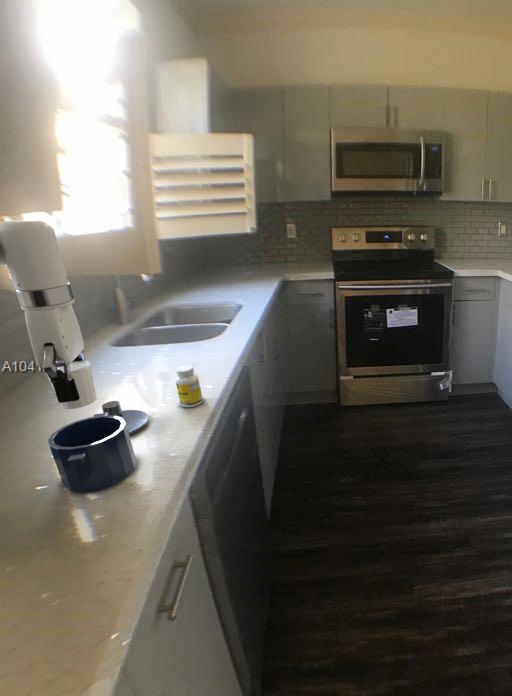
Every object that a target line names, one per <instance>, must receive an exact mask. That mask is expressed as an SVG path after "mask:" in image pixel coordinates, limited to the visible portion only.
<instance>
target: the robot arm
mask: <svg viewBox="0 0 512 696" xmlns="http://www.w3.org/2000/svg"><path fill="white" fill-rule="evenodd" d="M61 252H62V251H61V249H60V245H59V242H58V239H57V234H56V232H55V229H54V227H53V225H52V224H51V223H50V222H49V221H47V220H45V219H36V218H35V219H33V218H32V219H17V220H16V219H15V220H7V221H2V222H1V221H0V266H5V265H6V266H7V269H8V272H9V275H10V279H11V282H12V284H13V288H14V290H15V293H16V296H17V299H18V302H19V305H20V308H21V310H22V311H24V317H25V324H26V329H27V335H28V337H29V342H30V346H31V348H32V353H33V356H34V359H35V363H36V365H37V366H38V368H41V369H43V371H44V372H45V374H46V373H47V374H46V376H47V375H48V376H49V378H50V381H51V383H52V384H53V387H54V389H53V391H54V390H55V392H54V393H56V394H55V396H56V399H57V402H58V403H59V404H60V403H63V402H70V401H77V400H79V398H80V396H79V393H78V390H77V387H76V383H75V380H74V379H71V372H70V363H71V362H72V361H87V359H86V356H85V355H84V348H85V343H84V338H83V335H82V330H81V327H80V324H79V321H78V318H77V316H76V313H75V311H74V309H73V304H74V303H76V301H75V298H74V297H75V296H74V294H73V291H72V287H71V283H70V280H69V277H68V273H67V270H66V266H65V263H64V260H63V256H62V253H61ZM57 361H58V363H56V362H57ZM59 361H63V362H59ZM59 367H64V372H62V371H61V370H58V369H57V368H59ZM50 381H49V382H50ZM51 383H50V384H51ZM53 387H52V388H53Z"/></svg>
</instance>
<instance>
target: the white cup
mask: <svg viewBox="0 0 512 696" xmlns="http://www.w3.org/2000/svg"><path fill="white" fill-rule="evenodd" d="M57 369H58V370H61V371H62V372H64V367H59V368H57ZM70 372H71V379H74V380H75V383H76V387H77V390H78V393H79V396H80V398H79V400H77V401H70V402H63V403H60V402H59V404H60V406H61V408H62V409H66V410H75V409H80V408H83V407H87V406H90V405H91V404H93V403H95V402H96V401H97V399H98V398H97V391H96V386H95V381H94V380H95V379H94V373H93V369H92V363H91V361H88V360H86V361H72V362H71V363H70ZM45 375H46V376H47V379H48V381H49V383H50V385H51V387H52V389H53V391H54V393H55V390H54V387H53V384H52V383H51V381H50V378H49V376H48V375H47V373H46V372H45ZM55 395H56V393H55Z"/></svg>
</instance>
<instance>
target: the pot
mask: <svg viewBox="0 0 512 696" xmlns="http://www.w3.org/2000/svg"><path fill="white" fill-rule="evenodd" d="M47 441H48V442H47V443H48V446H49V449H50V452H51V455H52V457H53V461H54V464H55V466H56V469H57V472H58V474H59V477H60V481H61V483H62V486H63V488H64V489H65V490H67V491H68V492H72V493H75V494H76V493H77V494H85V493H86V494H87V493H93V492H98V491H102V490H104V489H107V488H110V487H113V486H115V485H117V484H119V483H120V482H122V481H125V479H127V478H128V477H130V476H131V475H132V474H133V472H134V471H135V469H136V467H137V458H136V455H135V451H134V447H133V443H132V440H131V436H130V435H129V432H128V429H127V425H126V422H125V421H124V419H123V418H121V417H118V416H112V415H108V413H103V412H101V413H95V414H93V416H88V417H87V418H82V419H79V420H76V421H73V422H71V423H68V424H66V425H64V426H61V427H60V428H58V429H57V430H56V431H54V432H53V433H51V435H50V436H49V438H48V439H47Z"/></svg>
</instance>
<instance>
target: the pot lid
mask: <svg viewBox="0 0 512 696" xmlns="http://www.w3.org/2000/svg"><path fill="white" fill-rule="evenodd" d="M101 410H102V413H108V415H112V416H118V417H121V418H123V419H124V421H125V422H126V425H127V429H128V432H129V436H130V435H132V434H134V433H136V432H138V431H140V430H141V429H143V428H144V427H145V426H146V425H147V424H148V422H149V415H148V413H146V412H145V411H142V410H138V409H125V410H122V406H121V404H120V401H118V400H112V401H107V402H104V403H103V404H102V405H101Z"/></svg>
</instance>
